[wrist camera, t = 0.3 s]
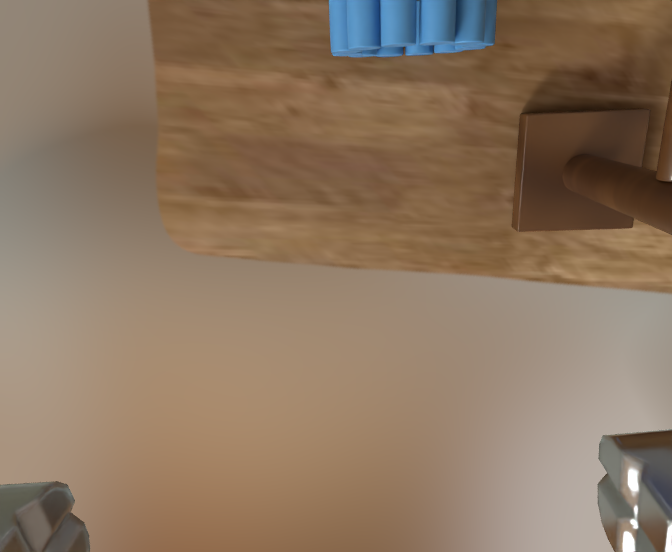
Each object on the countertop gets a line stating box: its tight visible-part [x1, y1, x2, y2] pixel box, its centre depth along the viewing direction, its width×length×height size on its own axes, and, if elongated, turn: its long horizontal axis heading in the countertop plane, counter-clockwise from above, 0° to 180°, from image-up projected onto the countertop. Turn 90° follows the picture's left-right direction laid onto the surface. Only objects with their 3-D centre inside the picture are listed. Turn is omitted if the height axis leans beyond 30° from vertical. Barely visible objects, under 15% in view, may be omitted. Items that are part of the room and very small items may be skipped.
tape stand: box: [512, 81, 672, 235], centre depth 27 cm, size 15×8×16 cm, turn 2°
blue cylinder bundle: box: [329, 0, 497, 57], centre depth 29 cm, size 9×3×9 cm, turn 92°
